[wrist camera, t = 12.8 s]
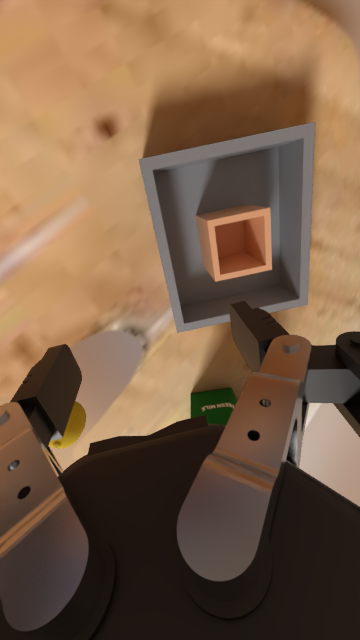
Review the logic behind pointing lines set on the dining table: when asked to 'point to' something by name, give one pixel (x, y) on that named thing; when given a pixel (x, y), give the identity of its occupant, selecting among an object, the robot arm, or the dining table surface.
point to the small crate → (235, 241)
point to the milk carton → (213, 405)
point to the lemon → (72, 427)
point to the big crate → (227, 192)
